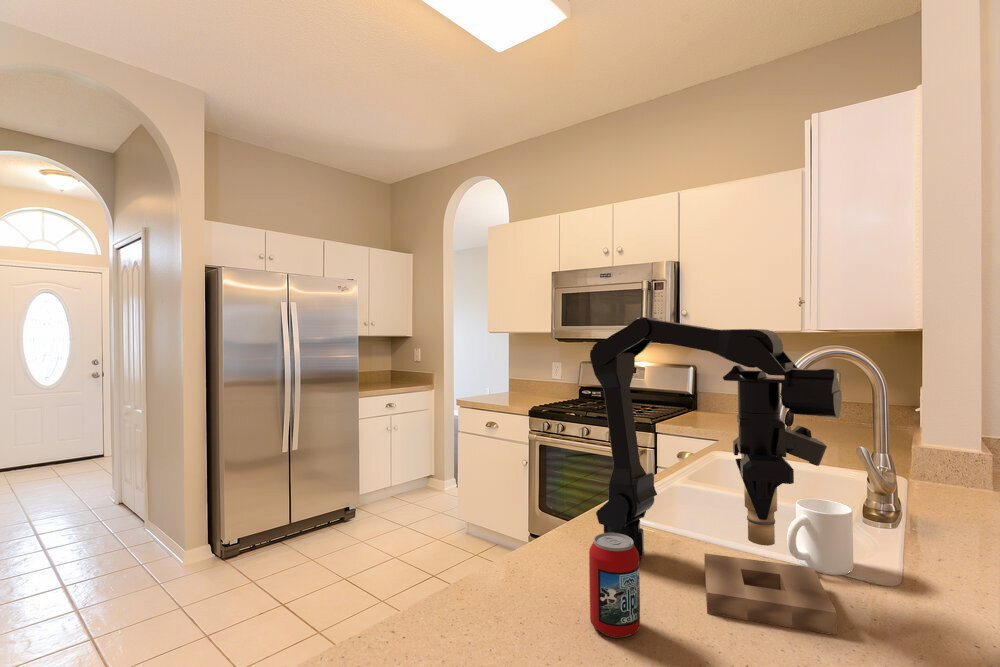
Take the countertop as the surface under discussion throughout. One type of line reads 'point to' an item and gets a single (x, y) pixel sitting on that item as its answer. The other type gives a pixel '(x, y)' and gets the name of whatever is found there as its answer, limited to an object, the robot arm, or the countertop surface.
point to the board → (768, 593)
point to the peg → (761, 522)
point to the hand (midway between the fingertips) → (760, 514)
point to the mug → (822, 536)
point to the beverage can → (614, 585)
